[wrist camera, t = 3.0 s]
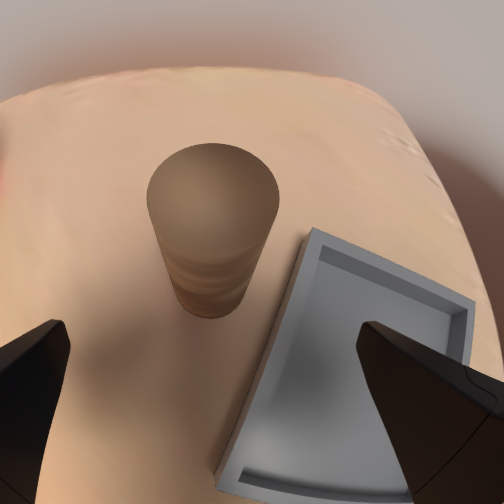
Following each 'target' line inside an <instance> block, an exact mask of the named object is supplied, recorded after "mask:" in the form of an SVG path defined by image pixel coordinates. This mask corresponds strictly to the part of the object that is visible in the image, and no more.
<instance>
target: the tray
mask: <svg viewBox="0 0 504 504" xmlns="http://www.w3.org/2000/svg"><path fill="white" fill-rule="evenodd" d="M474 318H475V301H473V300H471V299H469V298H467V297H465V296H463V295H461V294H459V293H457V292H455V291H453V290H451V289H449V288H447V287H445V286H443V285H441V284H439V283H437V282H435V281H432V280H430V279H428V278H426V277H424V276H422V275H420V274H418V273H416V272H413V271H411V270H409V269H407V268H405V267H403V266H401V265H398V264H396V263H394V262H392V261H390V260H387V259H385V258H383V257H381V256H379V255H376V254H374V253H372V252H370V251H367V250H365V249H363V248H361V247H358V246H356V245H354V244H351V243H349V242H347V241H344V240H342V239H340V238H337V237H335V236H333V235H330V234H328V233H326V232H323V231H321V230H318V229H316V228H314V227H313V228H312V229H311V231H310V232H309V234H308V235H307V237H306V238H305V240H304V241H303V243H302V245H301V247H300V250H299V253H298V256H297V259H296V262H295V265H294V268H293V271H292V274H291V277H290V279H289V282H288V285H287V288H286V291H285V294H284V297H283V300H282V303H281V305H280V308H279V311H278V314H277V317H276V320H275V322H274V325H273V328H272V331H271V333H270V336H269V339H268V342H267V344H266V347H265V350H264V352H263V355H262V358H261V360H260V363H259V366H258V368H257V371H256V374H255V376H254V379H253V381H252V384H251V387H250V389H249V392H248V394H247V397H246V399H245V402H244V404H243V407H242V409H241V412H240V414H239V417H238V419H237V422H236V424H235V427H234V429H233V431H232V434H231V436H230V439H229V441H228V443H227V446H226V448H225V451H224V453H223V455H222V458H221V460H220V462H219V465H218V467H217V469H216V471H215V474H214V481H215V490H218V491H221V492H225V493H228V494H232V495H235V496H239V497H243V498H247V499H251V500H255V501H259V502H264V503H268V504H414V502H413V500H412V496H411V494H410V491H409V488H408V485H407V483H406V480H405V477H404V475H403V472H402V470H401V467H400V464H399V462H398V459H397V457H396V454H395V452H394V449H393V447H392V444H391V442H390V439H389V437H388V434H387V432H386V429H385V427H384V424H383V422H382V420H381V417H380V415H379V413H378V410H377V408H376V405H375V403H374V401H373V398H372V396H371V394H370V391H369V389H368V386H367V383H366V380H365V376H364V373H363V370H362V367H361V364H360V360H359V357H358V354H357V351H356V341H357V338H358V335H359V331H360V328H361V325H362V323H363V322H365V321H377V322H379V323H381V324H383V325H385V326H387V327H389V328H391V329H393V330H395V331H397V332H399V333H401V334H403V335H405V336H407V337H409V338H411V339H413V340H415V341H417V342H419V343H421V344H423V345H425V346H427V347H429V348H431V349H433V350H435V351H437V352H439V353H441V354H443V355H445V356H447V357H450V358H452V359H454V360H456V361H458V362H460V363H462V364H463V365H466V366H468V367H469V363H470V356H471V349H472V340H473V330H474Z"/></svg>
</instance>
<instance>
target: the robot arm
mask: <svg viewBox="0 0 504 504" xmlns="http://www.w3.org/2000/svg"><path fill="white" fill-rule="evenodd" d="M70 349H71V344H70V340H69V337H68V334H67V330H66V327H65V324H64V322H63V321H62V320H55V319H51V320H49V321H47V322H45V323H43V324H41V325H39V326H38V327H36V328H34V329H32V330H31V331H29V332H27V333H25V334H23V335H22V336H20V337H18V338H16V339H15V340H13V341H11V342H9V343H8V344H6V345H4V346H2V347H1V348H0V504H35V498H36V492H37V486H38V480H39V475H40V470H41V465H42V460H43V456H44V451H45V447H46V443H47V439H48V435H49V431H50V427H51V424H52V420H53V416H54V413H55V410H56V406H57V403H58V400H59V396H60V393H61V389H62V385H63V380H64V375H65V371H66V366H67V362H68V358H69V354H70ZM356 351H357V354H358V357H359V360H360V364H361V367H362V370H363V373H364V376H365V380H366V383H367V386H368V389H369V391H370V394H371V396H372V398H373V401H374V403H375V405H376V408H377V410H378V413H379V415H380V417H381V420H382V422H383V424H384V427H385V429H386V432H387V434H388V437H389V439H390V442H391V444H392V447H393V449H394V452H395V454H396V457H397V459H398V462H399V464H400V467H401V470H402V472H403V475H404V477H405V480H406V483H407V485H408V488H409V491H410V494H411V496H412V500H413V502H414V504H504V382H501V381H499V380H496V379H494V378H492V377H489V376H487V375H485V374H482V373H480V372H478V371H476V370H474V369H472V368H470V367H468V366H466V365H463V364H462V363H460V362H458V361H456V360H454V359H452V358H450V357H447V356H445V355H443V354H441V353H439V352H437V351H435V350H433V349H431V348H429V347H427V346H425V345H423V344H421V343H419V342H417V341H415V340H413V339H411V338H409V337H407V336H405V335H403V334H401V333H399V332H397V331H395V330H393V329H391V328H389V327H387V326H385V325H383V324H381V323H379V322H377V321H365V322H363V323H362V325H361V328H360V331H359V335H358V338H357V341H356Z"/></svg>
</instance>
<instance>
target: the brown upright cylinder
mask: <svg viewBox="0 0 504 504" xmlns="http://www.w3.org/2000/svg"><path fill="white" fill-rule="evenodd" d="M279 200H280V199H279V190H278V185H277V183H276V180H275V178H274V176H273V174H272V173H271V171H270V170H269V168H268V167H267V166H266V165H265V164H264V163H263V162H262V161H261V160H260V159H258V158H257V157H256V156H254V155H253V154H251V153H249V152H247V151H245V150H243V149H241V148H238V147H235V146H231V145H226V144H217V143H208V144H199V145H194V146H190V147H188V148H185V149H182V150H180V151H178V152H176V153H174V154H173V155H171V156H170V157H168V158H167V159H166V160H165V161H164V162H163V163H162V164H161V165H160V166H159V167H158V168H157V169H156V171H155V172H154V174H153V176H152V177H151V180H150V182H149V185H148V189H147V207H148V211H149V215H150V218H151V221H152V225H153V228H154V231H155V234H156V237H157V240H158V243H159V246H160V249H161V253H162V255H163V258H164V261H165V264H166V267H167V270H168V273H169V276H170V279H171V281H172V284H173V287H174V290H175V293H176V295H177V298H178V300H179V302H180V303H181V304H182V306H183V307H184V308H185V309H186V310H187V311H189V312H190V313H192V314H194V315H196V316H198V317H201V318H208V319H213V318H219V317H223V316H225V315H227V314H229V313H231V312H232V311H233V310H235V309H236V308H237V306H238V305H239V304H240V302H241V301H242V299H243V297H244V294H245V292H246V289H247V287H248V284H249V282H250V279H251V277H252V274H253V272H254V270H255V267H256V265H257V262H258V260H259V257H260V255H261V252H262V250H263V247H264V245H265V242H266V240H267V237H268V235H269V232H270V230H271V227H272V225H273V222H274V220H275V217H276V215H277V211H278V208H279Z"/></svg>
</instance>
